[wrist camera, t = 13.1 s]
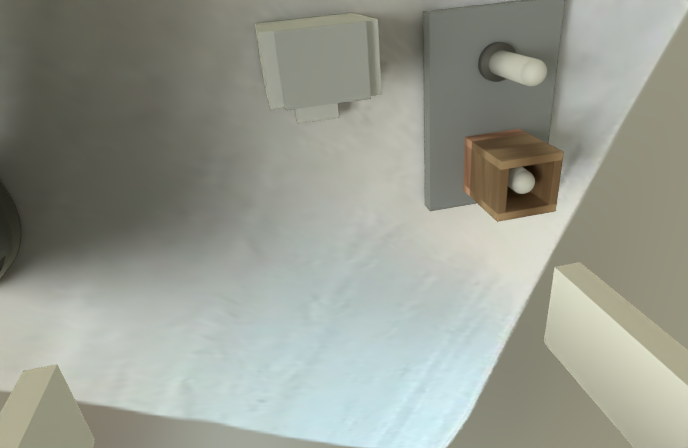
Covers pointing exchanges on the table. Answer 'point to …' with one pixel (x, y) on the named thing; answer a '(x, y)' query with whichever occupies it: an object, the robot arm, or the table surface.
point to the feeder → (319, 63)
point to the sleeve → (493, 169)
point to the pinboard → (485, 85)
